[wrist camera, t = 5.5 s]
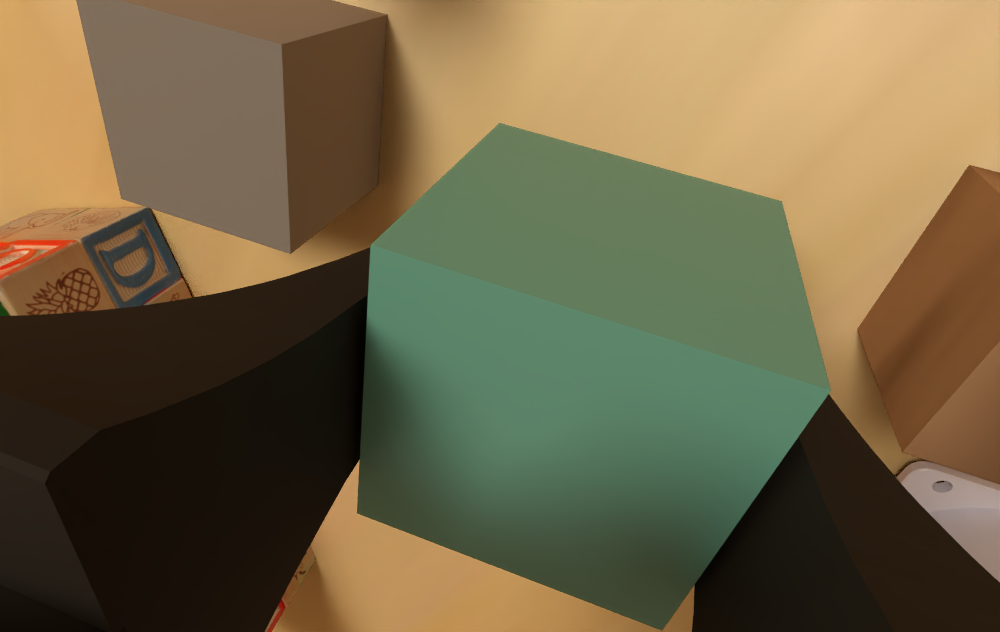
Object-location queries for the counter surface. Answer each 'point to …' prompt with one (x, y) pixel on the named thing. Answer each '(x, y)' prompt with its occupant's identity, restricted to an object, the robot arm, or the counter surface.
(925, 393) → the walnut block
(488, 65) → the counter surface
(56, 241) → the stack of blocks
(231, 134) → the gray block
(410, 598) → the counter surface
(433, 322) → the muted green block
